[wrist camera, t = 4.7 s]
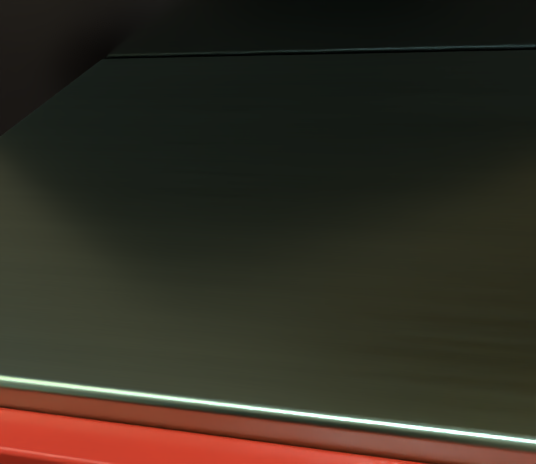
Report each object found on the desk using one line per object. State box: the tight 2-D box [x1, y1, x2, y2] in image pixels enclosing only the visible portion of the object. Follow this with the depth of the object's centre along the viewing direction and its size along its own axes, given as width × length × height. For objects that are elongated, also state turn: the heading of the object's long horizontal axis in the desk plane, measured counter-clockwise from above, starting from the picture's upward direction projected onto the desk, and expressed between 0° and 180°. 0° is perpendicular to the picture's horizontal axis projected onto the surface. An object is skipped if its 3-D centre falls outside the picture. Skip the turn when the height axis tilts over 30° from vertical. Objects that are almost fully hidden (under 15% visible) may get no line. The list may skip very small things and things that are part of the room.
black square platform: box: [0, 0, 536, 136], centre depth 10 cm, size 16×14×2 cm
